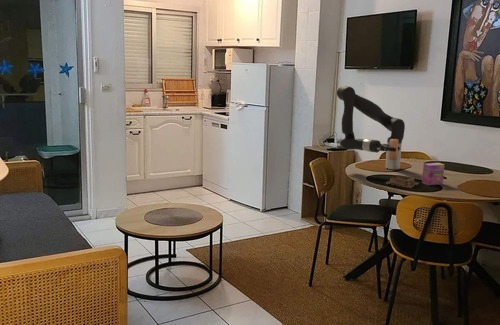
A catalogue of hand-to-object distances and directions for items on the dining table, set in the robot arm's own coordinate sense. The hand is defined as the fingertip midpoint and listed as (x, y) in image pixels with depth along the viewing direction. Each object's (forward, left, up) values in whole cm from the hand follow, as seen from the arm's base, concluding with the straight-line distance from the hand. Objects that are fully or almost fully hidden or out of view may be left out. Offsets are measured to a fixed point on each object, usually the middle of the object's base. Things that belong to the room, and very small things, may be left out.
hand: (397, 149), depth 297 cm
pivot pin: (0, -3, -6) cm, 7 cm away
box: (-2, +22, -18) cm, 28 cm away
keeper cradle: (+11, +9, -18) cm, 23 cm away
